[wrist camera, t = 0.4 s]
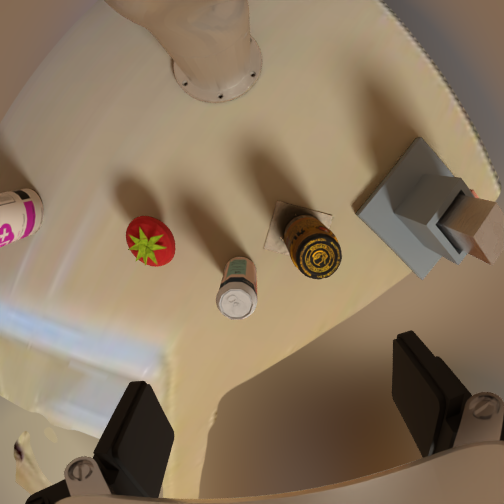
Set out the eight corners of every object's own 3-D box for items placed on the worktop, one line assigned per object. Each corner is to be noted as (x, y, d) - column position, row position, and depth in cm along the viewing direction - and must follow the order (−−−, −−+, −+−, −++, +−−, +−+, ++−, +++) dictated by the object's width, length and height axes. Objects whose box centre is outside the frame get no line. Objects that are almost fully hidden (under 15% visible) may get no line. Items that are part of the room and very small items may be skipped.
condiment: (318, 262, 47) (337, 293, 35) (263, 248, 47) (266, 276, 35) (332, 215, 45) (358, 232, 34) (277, 200, 45) (284, 211, 33)
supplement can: (53, 216, 45) (-5, 235, 31) (28, 242, 47) (-27, 267, 32) (32, 178, 44) (-28, 187, 29) (8, 207, 45) (-48, 222, 30)
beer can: (237, 292, 48) (232, 330, 37) (217, 267, 47) (206, 300, 36) (263, 274, 48) (265, 308, 36) (243, 249, 47) (240, 276, 35)
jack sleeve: (355, 213, 45) (384, 228, 34) (416, 137, 42) (457, 132, 31) (418, 277, 48) (453, 304, 36) (472, 206, 44) (515, 218, 33)
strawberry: (156, 201, 45) (132, 210, 35) (192, 237, 46) (177, 255, 36) (132, 229, 46) (104, 244, 36) (166, 263, 47) (146, 287, 38)
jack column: (405, 212, 43) (472, 237, 27) (424, 186, 42) (496, 201, 26) (424, 234, 44) (492, 267, 28) (443, 209, 43) (514, 232, 27)
